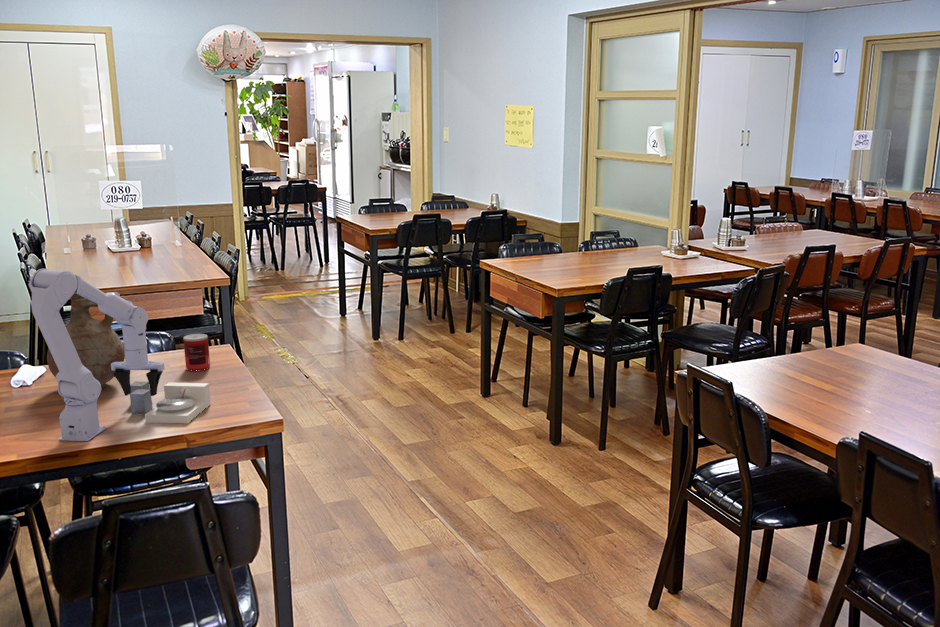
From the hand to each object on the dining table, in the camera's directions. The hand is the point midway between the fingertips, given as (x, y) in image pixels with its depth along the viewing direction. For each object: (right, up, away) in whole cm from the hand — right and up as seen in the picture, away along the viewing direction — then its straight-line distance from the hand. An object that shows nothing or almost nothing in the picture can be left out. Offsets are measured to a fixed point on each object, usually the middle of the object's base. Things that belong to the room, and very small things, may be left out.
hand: (140, 394), depth 223 cm
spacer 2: (0, -5, +1) cm, 5 cm away
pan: (+11, -3, -3) cm, 11 cm away
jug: (-25, 0, +23) cm, 34 cm away
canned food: (+2, +4, +42) cm, 42 cm away
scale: (+11, -5, 0) cm, 12 cm away
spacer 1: (-3, -3, +8) cm, 9 cm away
